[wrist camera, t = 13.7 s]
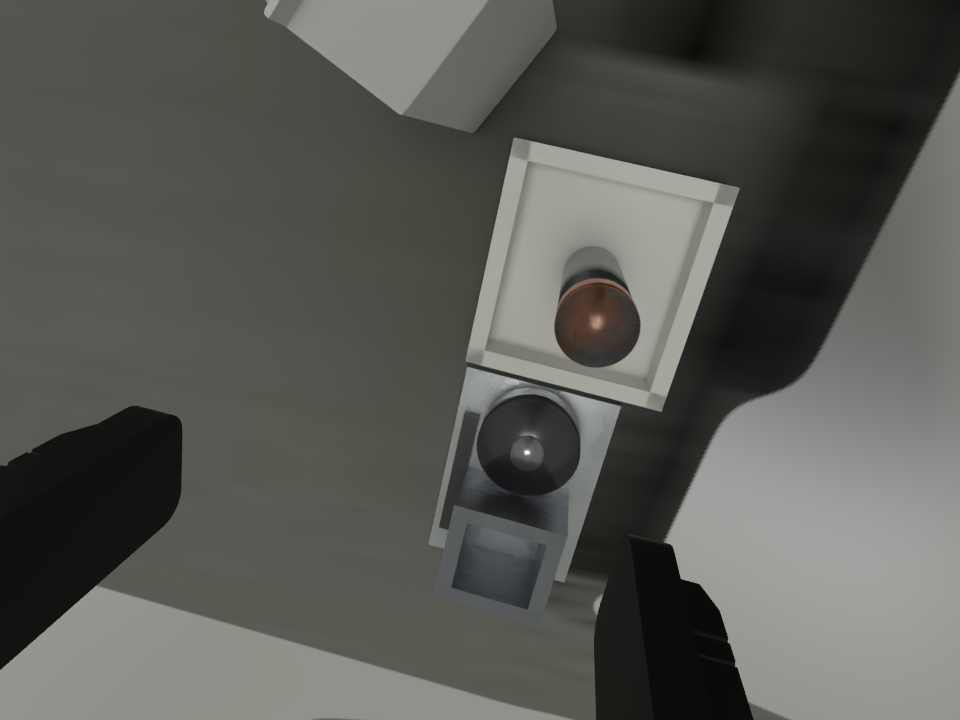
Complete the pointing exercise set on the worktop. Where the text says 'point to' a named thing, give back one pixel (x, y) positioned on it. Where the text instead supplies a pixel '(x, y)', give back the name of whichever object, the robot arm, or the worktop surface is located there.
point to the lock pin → (595, 310)
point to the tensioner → (516, 489)
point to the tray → (607, 224)
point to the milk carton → (426, 49)
